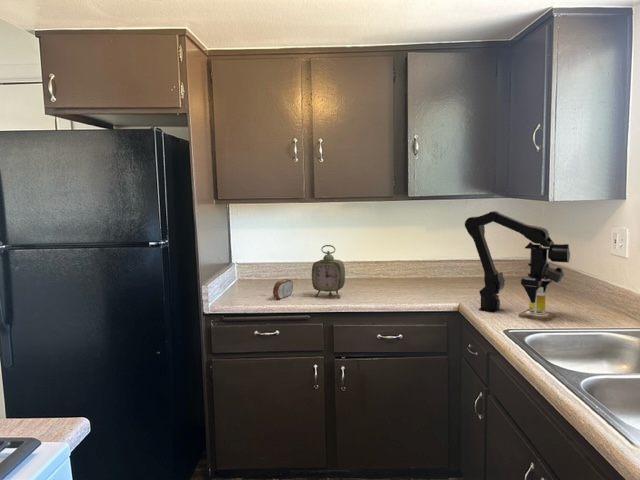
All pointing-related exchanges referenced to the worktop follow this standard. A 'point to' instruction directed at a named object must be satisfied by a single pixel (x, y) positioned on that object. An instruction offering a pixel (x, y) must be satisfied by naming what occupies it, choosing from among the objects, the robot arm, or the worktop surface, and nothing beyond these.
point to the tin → (283, 289)
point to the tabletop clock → (328, 274)
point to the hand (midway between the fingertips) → (537, 300)
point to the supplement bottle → (538, 303)
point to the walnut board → (537, 315)
